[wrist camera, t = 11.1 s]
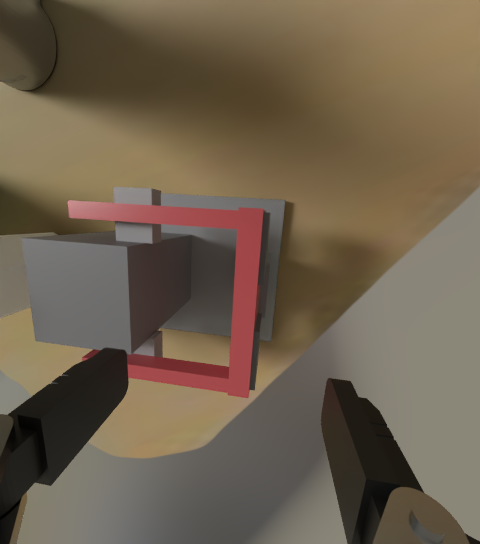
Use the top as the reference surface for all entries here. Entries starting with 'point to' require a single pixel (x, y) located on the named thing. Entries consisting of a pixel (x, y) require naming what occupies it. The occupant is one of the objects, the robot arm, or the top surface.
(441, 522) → the robot arm
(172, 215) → the red c-shaped frame
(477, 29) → the top surface
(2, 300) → the milk
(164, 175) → the top surface
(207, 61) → the top surface
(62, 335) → the stand
